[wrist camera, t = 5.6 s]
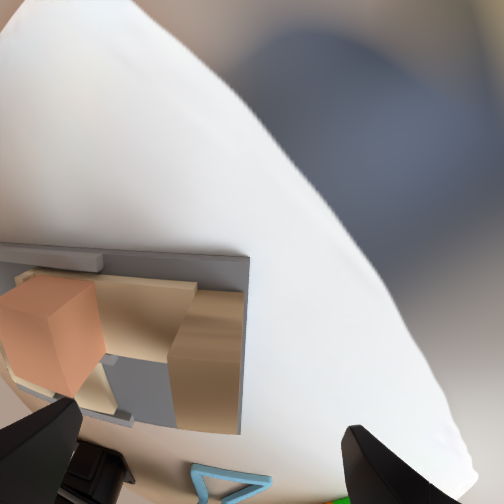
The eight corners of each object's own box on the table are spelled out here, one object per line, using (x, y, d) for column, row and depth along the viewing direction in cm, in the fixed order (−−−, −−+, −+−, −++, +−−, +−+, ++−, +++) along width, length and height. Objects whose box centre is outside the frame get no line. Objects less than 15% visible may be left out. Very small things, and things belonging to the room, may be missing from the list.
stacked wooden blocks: (241, 359, 15) (237, 440, 10) (48, 330, 15) (-2, 376, 9) (244, 284, 14) (240, 353, 8) (35, 266, 14) (-29, 301, 8)
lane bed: (240, 425, 18) (240, 442, 17) (28, 378, 18) (19, 388, 16) (249, 257, 15) (249, 267, 13) (-8, 241, 15) (-23, 247, 13)
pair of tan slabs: (118, 408, 17) (114, 417, 16) (18, 375, 17) (13, 381, 16) (104, 359, 16) (98, 368, 15) (2, 329, 15) (-5, 335, 14)
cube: (106, 351, 14) (72, 398, 10) (51, 338, 14) (14, 375, 10) (94, 281, 13) (46, 318, 9) (37, 274, 13) (-11, 302, 9)
